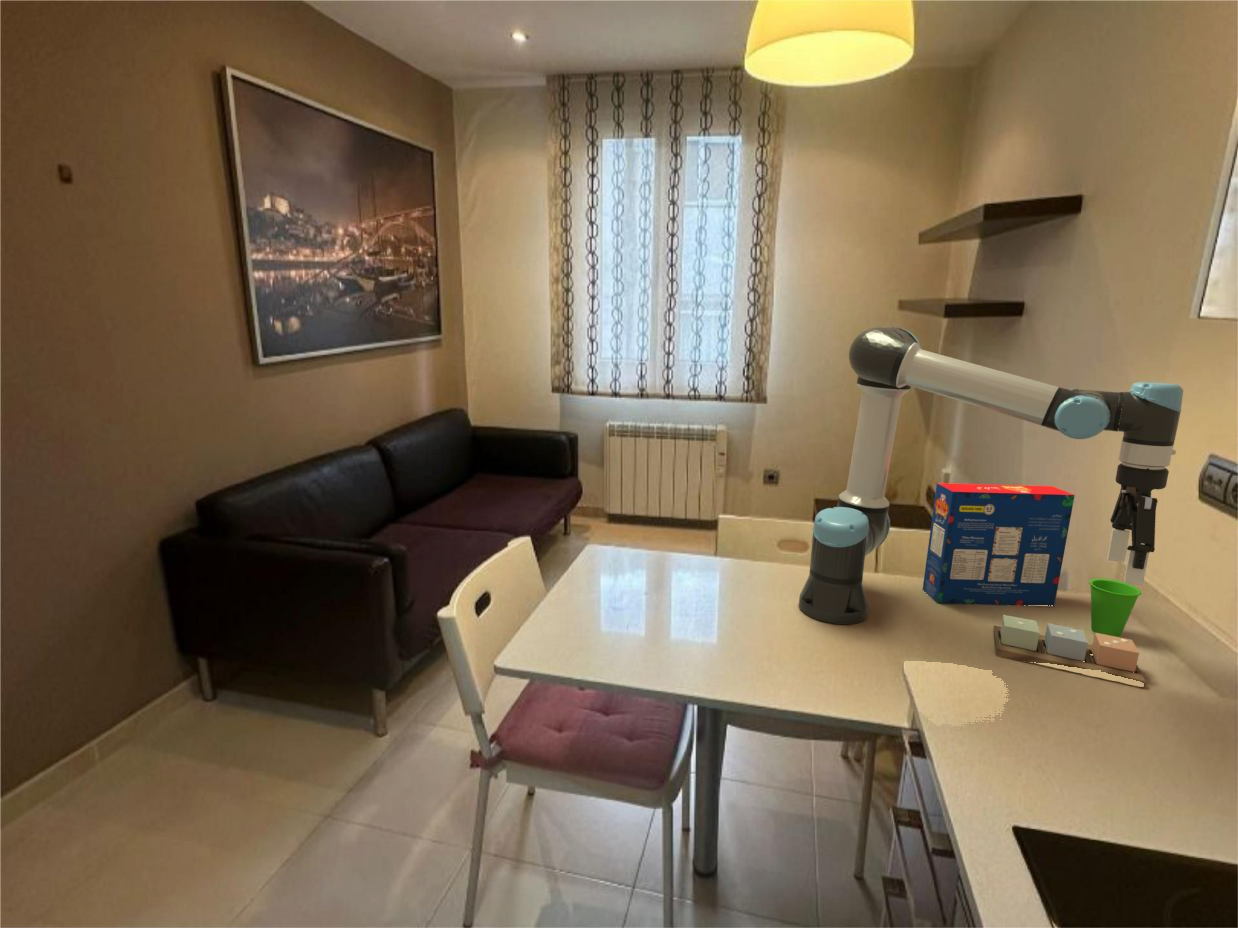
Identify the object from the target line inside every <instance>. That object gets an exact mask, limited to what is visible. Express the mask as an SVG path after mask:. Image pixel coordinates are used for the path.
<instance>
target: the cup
mask: <svg viewBox="0 0 1238 928" xmlns="http://www.w3.org/2000/svg"><path fill="white" fill-rule="evenodd" d="M1088 584H1090V619H1091V620H1090V621H1091V623H1090V627H1091V631H1092V632H1093V634H1095V633H1100V634H1105V635H1110V636H1115V637H1121V635H1122V634H1123V631H1124V629H1125V627H1126V625H1127V622H1128V619H1129V617H1130V616H1131V613H1132V611H1133V609H1134V606H1135V604H1136V602H1137V599H1138V598H1139V596H1141V595H1142V591H1141V590H1140V589H1139V588H1138V587H1136V586H1134V585H1133V584H1128V583H1124V581H1119V580H1115V579H1109V578H1093V579H1090V580H1089V582H1088Z"/></svg>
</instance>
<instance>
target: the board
mask: <svg viewBox="0 0 1238 928" xmlns="http://www.w3.org/2000/svg"><path fill="white" fill-rule="evenodd" d="M1000 631H1001V626H1000V625H996V624H994V625H993V640H994V650H995V656H996V657H1000V658H1005V659H1009V660H1013V661H1018V662H1019V661H1020V662H1023V661H1025V662H1024V663H1027V662H1033V663H1034V662H1036V663H1050V664H1057V665H1064V666H1068V667H1077V668H1082V669H1091V670H1101V672H1106V673H1108V674H1112V675H1115V676H1121V677H1124V678H1128V679H1133V680H1136V681H1140V682H1142V683H1144V684H1145V685H1146V679H1145V678H1144V676H1143V673H1142V672H1141V669H1140V668H1139V666H1138V664H1137V665H1136V670H1135V672H1134V673H1132V671H1127V670H1122V669H1118V668H1113V667H1108V666H1104V665H1099V664H1095V662H1094V660H1093V657H1091V655H1090V654H1092V652H1091V649H1092V644H1089V643H1088V644H1087V649H1086V654H1085V659H1084V661H1085V662H1083V661H1080V660H1075V659H1071V658H1066V657H1061V656H1057V655H1052V654H1048V653H1047V652H1046V650H1045V649H1046V645H1045V635H1046V634H1040V633H1039V638H1038V643H1037V649H1036V651H1033V650H1029V649H1024V648H1019V647H1015V646H1010V645H1005V644H1002V643H1000V639H1001V634H1000Z"/></svg>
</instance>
